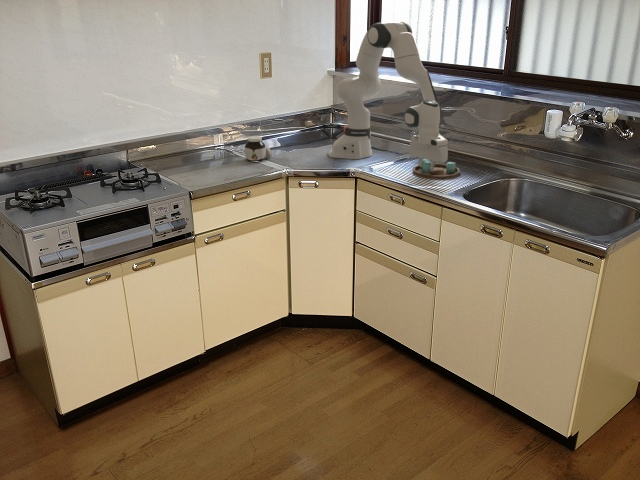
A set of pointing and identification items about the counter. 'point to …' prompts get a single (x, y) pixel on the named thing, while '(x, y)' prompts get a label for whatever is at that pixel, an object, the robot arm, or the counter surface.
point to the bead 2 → (450, 167)
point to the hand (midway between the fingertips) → (426, 168)
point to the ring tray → (436, 172)
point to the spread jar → (256, 149)
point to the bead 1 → (426, 167)
